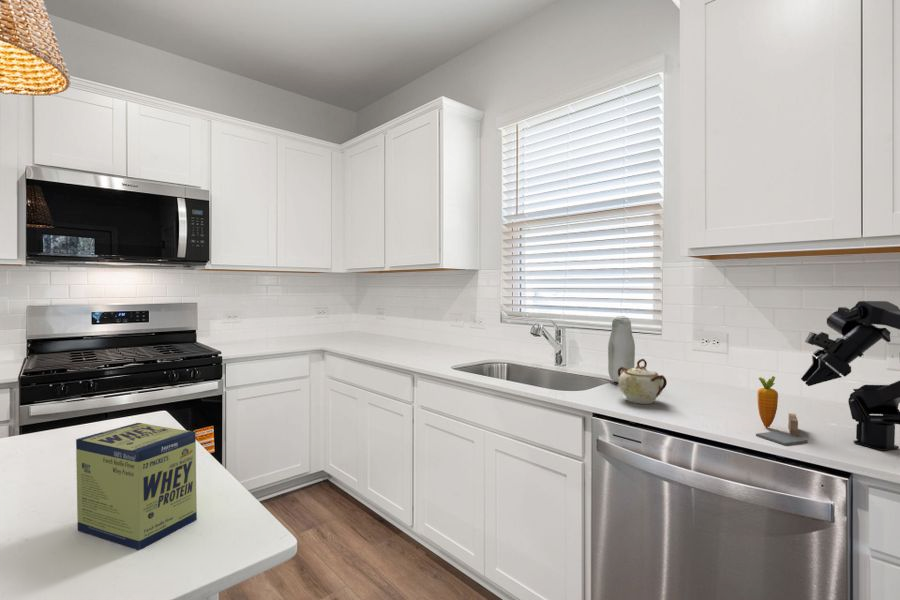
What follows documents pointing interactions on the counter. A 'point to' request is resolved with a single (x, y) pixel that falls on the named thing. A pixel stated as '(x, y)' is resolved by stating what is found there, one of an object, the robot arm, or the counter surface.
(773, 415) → the carrot
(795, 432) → the walnut block
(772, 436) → the charcoal mat
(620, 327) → the grey bottle
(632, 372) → the sugar bowl
